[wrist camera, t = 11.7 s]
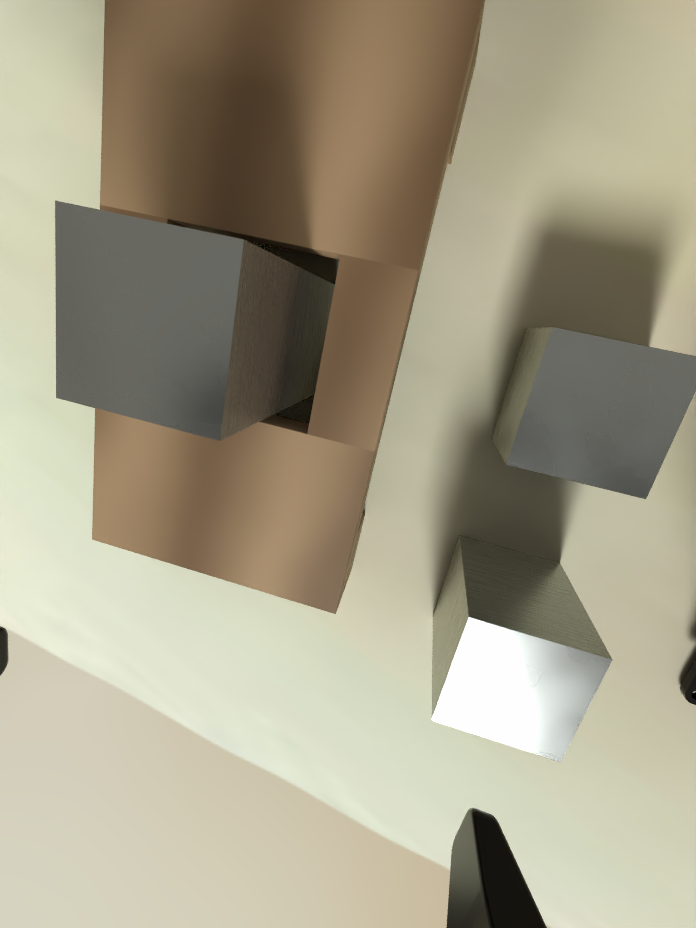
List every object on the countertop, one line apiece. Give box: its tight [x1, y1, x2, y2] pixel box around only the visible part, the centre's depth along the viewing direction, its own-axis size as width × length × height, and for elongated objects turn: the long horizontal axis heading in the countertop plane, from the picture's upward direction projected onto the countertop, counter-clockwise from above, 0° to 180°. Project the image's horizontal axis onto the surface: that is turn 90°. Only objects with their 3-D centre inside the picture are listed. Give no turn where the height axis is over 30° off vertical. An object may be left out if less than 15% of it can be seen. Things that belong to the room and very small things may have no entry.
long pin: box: [55, 201, 335, 441], centre depth 14 cm, size 4×4×9 cm
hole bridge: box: [92, 0, 485, 614], centre depth 17 cm, size 11×20×4 cm, turn 168°
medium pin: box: [432, 535, 612, 762], centre depth 17 cm, size 4×4×6 cm
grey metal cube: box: [492, 327, 696, 499], centre depth 15 cm, size 4×4×4 cm
